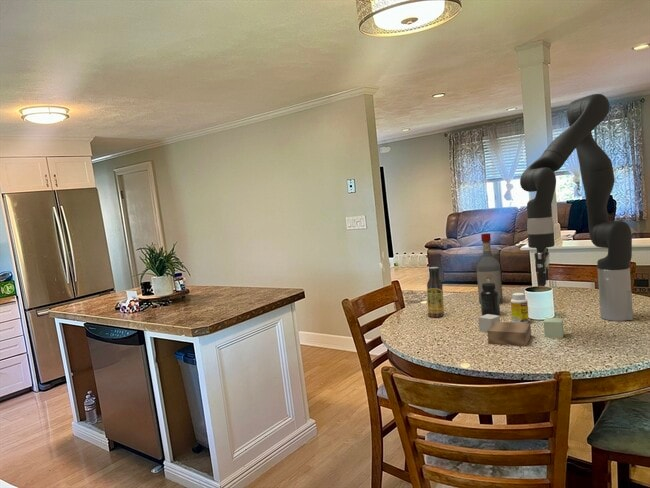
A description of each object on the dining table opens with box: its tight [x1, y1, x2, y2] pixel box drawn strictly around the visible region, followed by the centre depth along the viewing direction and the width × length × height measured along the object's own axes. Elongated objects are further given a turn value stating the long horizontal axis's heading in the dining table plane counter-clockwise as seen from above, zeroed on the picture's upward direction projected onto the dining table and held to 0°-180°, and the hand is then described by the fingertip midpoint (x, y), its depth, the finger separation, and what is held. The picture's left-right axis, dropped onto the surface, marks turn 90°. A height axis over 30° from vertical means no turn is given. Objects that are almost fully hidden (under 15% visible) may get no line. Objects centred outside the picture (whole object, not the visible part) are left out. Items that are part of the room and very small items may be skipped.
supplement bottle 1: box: [480, 283, 501, 316], centre depth 173 cm, size 7×7×12 cm
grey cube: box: [477, 314, 501, 333], centre depth 153 cm, size 5×5×5 cm
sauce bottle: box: [426, 266, 445, 318], centre depth 179 cm, size 6×6×20 cm
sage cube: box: [543, 317, 565, 339], centre depth 141 cm, size 5×5×5 cm
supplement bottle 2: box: [510, 292, 530, 323], centre depth 159 cm, size 6×6×10 cm
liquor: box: [476, 232, 504, 305], centre depth 191 cm, size 9×9×30 cm
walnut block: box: [486, 321, 532, 346], centre depth 142 cm, size 11×11×4 cm
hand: (543, 282), depth 142 cm, fingers open, 8 cm apart
